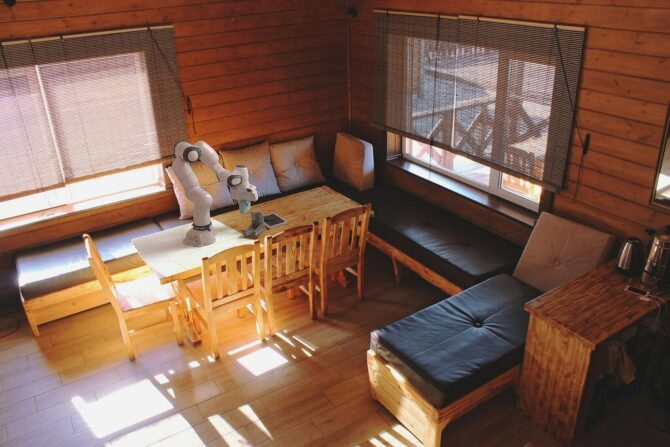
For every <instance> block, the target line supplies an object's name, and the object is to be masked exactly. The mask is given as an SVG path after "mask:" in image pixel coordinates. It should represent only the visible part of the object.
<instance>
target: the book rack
mask: <svg viewBox="0 0 670 447" xmlns="http://www.w3.org/2000/svg"><path fill="white" fill-rule="evenodd" d="M263 216H264V212H263V211H252V210H251V211H250V219H251V223H250V224H249V225H248V226H247V228H245V229H244V235H243V238H244V239H254V240H258V239H259V237H260V236H261V235H262V234H263V233H264V232H265V231H266V227H265V226H264V218H263Z"/></svg>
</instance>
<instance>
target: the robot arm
mask: <svg viewBox="0 0 670 447" xmlns="http://www.w3.org/2000/svg"><path fill="white" fill-rule="evenodd" d="M173 157H174V159H175V160H174V161H173V162H172V165H171V168H172V170H173V173H174V175H175V177H176V179H177V180H178V182H179V183H180V185H181V186H182V188H183V190H184V196H185V198H186V199H187V200H189V202H191V203H192V204H194V211H192V217H193V218H192V219H193V223H192V224H191V225H190V226H191V228H190V229H189V230H188V231H187V232H186V234H185V238H183V241H182V243H183V244H185V245H188V246H194V247H198V248H201V247H204V246H208V245H211V244H213V243H215V242H216V240H217V238H216V236H215V233H214V231H213V224H212V223H213V222H212V220H211V215H210V208H211V206H212V204H213V201H214V200H213V196H212V195H211V194H210V193H209V191H205V190H204V189H203V188H202V187H201V186H200V184H199V178H198V177H197V175H196V174H195V172H194V170H193V168H192V167H191V164H193V163H195V162H197V161H199V160H200V161H201V162H202V163H203V165H205V166H207V167H209V168H210V169H211V170H212V172H214V173H215V175H216V178H217V181H218V182H220V183H222V184H224V185H226V186H228V187H229V192H230V193H229V196H230V199H231V200H236V201H238V204H239V203H240V202H241V201H242V200H247V201H248V203H247V204H246V205H247V206H249V203H250V204H251V202H256V201H258V199H259V195H258V190H256V189H257V186H255V185H253V184H251V183H250V182H249V177H250V176H249V170H248V168H247V166H245V165H243V164H237V165H235V167H234V169H233V170H229V169H227V168H224V167H223V166H222V165H221V164H220V163H219V161H220V160H219V159H220V155H218V153H217V151H216V150H215V149H214V148H212V146H211V145H209V144H208V143H207V142H205V141H204V140H199V141H197V142H195V143H194V144H192V143H189V142H187V141H184V140H179V141H177V142H175V144H174V145H173Z"/></svg>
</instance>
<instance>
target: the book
mask: <svg viewBox="0 0 670 447" xmlns="http://www.w3.org/2000/svg"><path fill="white" fill-rule="evenodd" d="M247 203H248V201H247V200H241V202H240V203H239V202H238V209H239V214H241V215H245V214H246V213H247V212H248V211H250V209H251V208H252V206H251V205H252V204H251V202H250V203H249V206H247V205H246V204H247Z"/></svg>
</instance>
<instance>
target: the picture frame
mask: <svg viewBox="0 0 670 447" xmlns="http://www.w3.org/2000/svg"><path fill="white" fill-rule="evenodd" d="M263 218H264V227H265V228H267V230H272V229H276V228H280V227H282V226H285V225H288V224H289V221H288V220H287V219H285V218H284V217H282V216H280V215H279V214H278V213H276V212H271V213H269V214H265V215H264V214H263Z"/></svg>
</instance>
